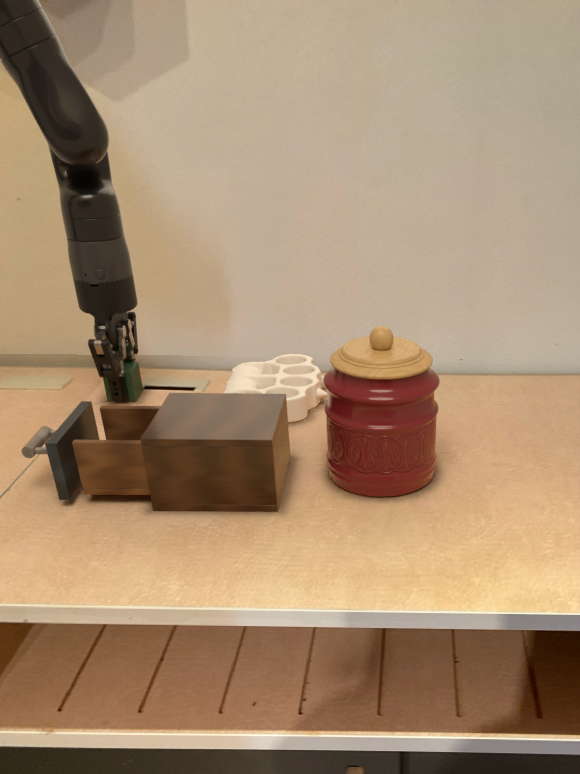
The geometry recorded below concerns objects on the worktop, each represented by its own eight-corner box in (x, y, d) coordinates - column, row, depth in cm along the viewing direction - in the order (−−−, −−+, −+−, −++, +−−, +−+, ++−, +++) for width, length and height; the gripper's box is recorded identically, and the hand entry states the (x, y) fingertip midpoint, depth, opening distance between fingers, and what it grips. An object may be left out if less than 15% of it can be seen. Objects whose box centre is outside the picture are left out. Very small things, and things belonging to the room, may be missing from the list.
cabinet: (153, 510, 86) (139, 438, 82) (179, 458, 97) (169, 392, 92) (277, 511, 86) (271, 439, 82) (290, 459, 97) (286, 393, 92)
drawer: (20, 500, 86) (4, 443, 82) (57, 453, 96) (44, 400, 92) (174, 501, 86) (165, 444, 83) (196, 454, 96) (189, 402, 92)
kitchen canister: (382, 511, 87) (383, 355, 77) (304, 473, 94) (295, 326, 85) (458, 472, 95) (466, 326, 85) (380, 439, 102) (380, 302, 93)
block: (107, 401, 112) (101, 371, 109) (115, 390, 115) (110, 361, 113) (135, 401, 112) (130, 371, 109) (143, 391, 115) (138, 361, 113)
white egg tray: (237, 374, 121) (333, 375, 121) (217, 423, 106) (327, 423, 106) (235, 353, 119) (332, 353, 120) (214, 399, 104) (326, 399, 104)
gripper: (91, 259, 110) (114, 376, 119) (54, 286, 98) (82, 415, 107) (145, 259, 110) (164, 377, 119) (115, 287, 98) (138, 415, 107)
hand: (125, 394), depth 113 cm, fingers closed on block, 4 cm apart
